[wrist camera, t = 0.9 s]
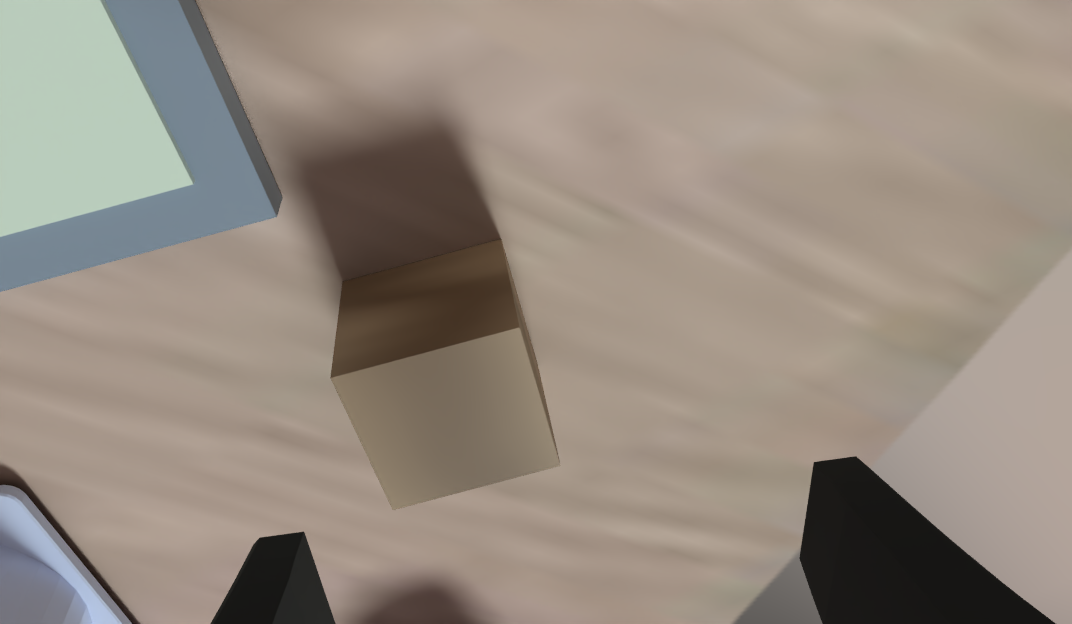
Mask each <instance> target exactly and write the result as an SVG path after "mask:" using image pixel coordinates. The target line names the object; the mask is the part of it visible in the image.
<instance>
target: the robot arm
mask: <svg viewBox="0 0 1072 624" xmlns="http://www.w3.org/2000/svg"><path fill="white" fill-rule="evenodd" d="M800 561H801V564H802V567H803V570H804V573H805V576H806V578H807V581H808V584H809V587H810V590H811V593H812V596H813V599H814V601H815V604H816V607H817V610H818V612H819V615H820V618H821V620H822V623H823V624H1055V623H1054V622H1053V621H1051V620H1050V619H1049V618H1048V617H1046V616H1045V615H1044V614H1042V613H1041V612H1040V611H1038V610H1037V609H1036V608H1034V607H1033V606H1032V605H1030V604H1029V603H1028V602H1026V601H1025V600H1023V598H1021V597H1020V596H1019V595H1017V594H1016V593H1015V592H1014V591H1012V590H1011V589H1010V588H1009V587H1007V586H1006V585H1005V584H1003V583H1002V582H1001V581H1000V580H998V579H997V578H996V577H995V576H994V575H993V574H991V573H990V572H989V571H987V570H986V569H985V568H984V567H983V566H982V565H980V564H979V563H978V562H977V561H976V560H974V559H973V558H972V557H971V556H970V555H968V554H967V553H966V552H965V551H964V550H962V549H961V548H960V547H959V546H957V545H956V544H955V543H954V542H953V541H952V540H950V539H949V538H948V537H947V536H946V535H945V534H943V533H942V532H941V531H940V530H939V529H937V528H936V527H935V526H934V525H933V524H932V523H931V522H930V521H929V520H927V519H926V518H925V517H924V516H923V515H922V514H921V513H919V512H918V511H917V510H916V509H915V508H914V507H912V506H911V505H910V504H909V503H908V502H907V501H906V500H905V499H904V498H902V497H901V496H900V495H899V494H898V493H897V492H896V491H895V490H893V489H892V488H891V487H890V486H889V485H888V484H887V483H886V482H884V481H883V480H882V479H881V478H880V477H879V476H878V475H877V474H875V473H874V472H873V471H872V470H871V469H870V468H869V467H868V466H866V465H865V464H864V463H863V462H862V461H861V460H859V459H858V458H857V457H848V458H841V459H834V460H826V461H819V462H814V466H813V472H812V479H811V485H810V492H809V499H808V505H807V512H806V519H805V525H804V532H803V539H802V545H801V552H800ZM0 624H132V623H131V622H130V620H129V619H128V618H127V617H126V616H125V614H124V613H123V612H122V611H121V609H120V608H119V607H118V606H117V605H116V603H115V602H114V601H113V600H112V599H111V597H110V596H109V595H108V594H107V592H106V591H105V590H104V589H103V588H102V586H101V585H100V584H99V583H98V581H97V580H96V579H95V578H94V577H93V575H92V574H91V573H90V572H89V570H88V569H87V568H86V567H85V566H84V564H83V563H82V562H81V561H80V559H79V558H78V557H77V556H76V555H75V553H74V552H73V551H72V550H71V548H70V547H69V546H68V545H67V544H66V542H65V541H64V540H63V539H62V537H61V536H60V535H59V534H58V533H57V531H56V530H55V529H54V528H53V526H52V525H51V524H50V523H49V522H48V520H47V519H46V518H45V517H44V515H43V514H42V513H41V512H40V511H39V509H38V508H37V507H36V506H35V504H34V503H33V502H32V501H31V500H30V498H29V497H28V496H27V495H26V494H25V493H24V492H23V491H22V490H21V489H19V488H17V487H14V486H10V485H0ZM211 624H335V621H334V618H333V615H332V612H331V609H330V607H329V604H328V601H327V598H326V595H325V592H324V589H323V586H322V583H321V580H320V577H319V574H318V571H317V568H316V565H315V562H314V559H313V557H312V554H311V551H310V548H309V545H308V542H307V539H306V536H305V533H304V532H299V533H291V534H284V535H277V536H269V537H262V538H259V539H258V540H257V541H256V543H255V544H254V545H253V547H252V549H251V551H250V552H249V554H248V556H247V558H246V560H245V562H244V564H243V566H242V568H241V570H240V571H239V573H238V575H237V577H236V579H235V581H234V583H233V585H232V586H231V588H230V590H229V592H228V594H227V596H226V597H225V599H224V601H223V603H222V605H221V606H220V608H219V610H218V612H217V613H216V615H215V617H214V619H213V620H212V622H211Z"/></svg>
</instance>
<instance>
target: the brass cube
mask: <svg viewBox="0 0 1072 624" xmlns="http://www.w3.org/2000/svg"><path fill="white" fill-rule="evenodd" d="M331 380H332V382H333V384H334V386H335V389H336V391H337V393H338V395H339V397H340V399H341V401H342V403H343V406H344V408H345V410H346V412H347V414H348V416H349V418H350V420H351V422H352V425H353V427H354V429H355V431H356V433H357V435H358V437H359V439H360V442H361V444H362V446H363V448H364V450H365V452H366V454H367V456H368V458H369V461H370V463H371V465H372V467H373V469H374V471H375V473H376V475H377V478H378V480H379V482H380V484H381V486H382V488H383V490H384V492H385V495H386V497H387V499H388V501H389V503H390V505H391V507H392V509H393V510H396V509H399V508H403V507H407V506H411V505H414V504H418V503H422V502H426V501H429V500H433V499H437V498H441V497H445V496H448V495H452V494H456V493H460V492H463V491H467V490H471V489H475V488H478V487H482V486H486V485H490V484H493V483H497V482H501V481H505V480H509V479H512V478H516V477H520V476H524V475H527V474H531V473H535V472H539V471H542V470H546V469H550V468H554V467H557V466H560V461H559V457H558V453H557V448H556V444H555V439H554V435H553V430H552V426H551V422H550V417H549V413H548V408H547V404H546V399H545V395H544V391H543V386H542V382H541V377H540V373H539V369H538V364H537V361H536V358H535V354H534V351H533V347H532V344H531V340H530V337H529V333H528V330H527V326H526V323H525V320H524V316H523V313H522V309H521V306H520V302H519V299H518V295H517V292H516V288H515V285H514V282H513V278H512V275H511V271H510V268H509V264H508V261H507V257H506V254H505V250H504V247H503V244H502V240H501V239H499V240H495V241H492V242H488V243H484V244H480V245H477V246H473V247H469V248H466V249H462V250H458V251H455V252H451V253H447V254H443V255H440V256H436V257H432V258H429V259H425V260H421V261H417V262H414V263H410V264H406V265H403V266H399V267H395V268H391V269H388V270H384V271H380V272H377V273H373V274H369V275H365V276H362V277H358V278H354V279H351V280H347V281H343V283H342V291H341V299H340V307H339V315H338V323H337V331H336V339H335V347H334V355H333V363H332V370H331Z"/></svg>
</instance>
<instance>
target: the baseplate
mask: <svg viewBox="0 0 1072 624" xmlns="http://www.w3.org/2000/svg"><path fill="white" fill-rule="evenodd" d="M282 198H283V197H282V195H281V193H280V191H279V189H278V186H277V184H276V182H275V180H274V177H273V175H272V173H271V171H270V168H269V166H268V164H267V162H266V159H265V157H264V155H263V153H262V150H261V148H260V146H259V144H258V141H257V139H256V137H255V135H254V132H253V130H252V128H251V126H250V123H249V121H248V119H247V117H246V114H245V112H244V110H243V108H242V105H241V103H240V101H239V99H238V96H237V94H236V92H235V90H234V87H233V85H232V83H231V81H230V78H229V76H228V74H227V72H226V69H225V67H224V65H223V63H222V60H221V58H220V56H219V54H218V51H217V49H216V47H215V45H214V42H213V40H212V38H211V36H210V33H209V31H208V29H207V27H206V24H205V22H204V20H203V18H202V15H201V13H200V11H199V9H198V6H197V4H196V2H195V0H0V292H2V291H5V290H9V289H13V288H16V287H20V286H24V285H27V284H31V283H35V282H38V281H42V280H46V279H49V278H53V277H57V276H61V275H64V274H68V273H72V272H75V271H79V270H83V269H86V268H90V267H94V266H97V265H101V264H105V263H108V262H112V261H116V260H120V259H123V258H127V257H131V256H134V255H138V254H142V253H145V252H149V251H153V250H156V249H160V248H164V247H167V246H171V245H175V244H178V243H182V242H186V241H190V240H193V239H197V238H201V237H204V236H208V235H212V234H215V233H219V232H223V231H226V230H230V229H234V228H237V227H241V226H245V225H249V224H252V223H256V222H260V221H263V220H267V219H271V218H274V217H277V214H278V211H279V208H280V204H281V201H282Z"/></svg>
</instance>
